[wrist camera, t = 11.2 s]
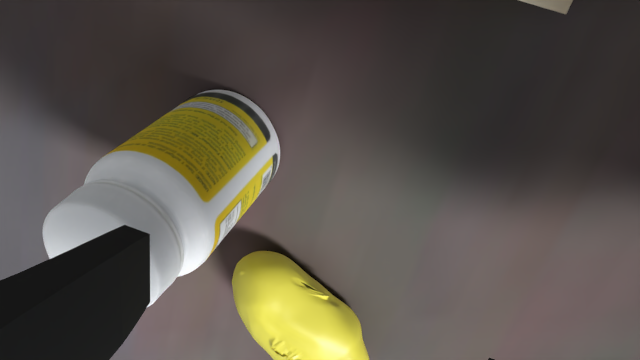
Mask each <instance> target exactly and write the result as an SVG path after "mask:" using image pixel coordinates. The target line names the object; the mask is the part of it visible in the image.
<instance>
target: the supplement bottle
mask: <svg viewBox="0 0 640 360" xmlns="http://www.w3.org/2000/svg"><path fill="white" fill-rule="evenodd" d="M279 161H280V145H279V140H278V137H277V134H276V132H275V130H274V127H273V125H272V124H271V122H270V120H269V119H268V117H267V116H266V114H265V113H264V112H263V111H262V110H261V109H260V108H259V107H258V106H257V105H256V104H255V103H253V102H252V101H251V100H249V99H248V98H246V97H244V96H242V95H240V94H238V93H235V92H232V91H227V90H208V91H204V92H201V93H199V94H197V95H194V96H192V97H190V98H189V99H187V100H186V101H184V102H183V103H182V104H180V105H179V106H177V107H176V108H175V109H173V110H172V111H170V112H169V113H167V114H165V115H164V116H162V117H161V118H160V119H158V120H157V121H155V122H154V123H152V124H151V125H149V126H148V127H146V128H145V129H143V130H142V131H141V132H139V133H138V134H136V135H135V136H133V137H132V138H130V139H129V140H127V141H126V142H124V143H123V144H121V145H120V146H118V147H117V148H115V149H114V150H112V151H111V152H109V153H108V154H106V155H105V156H103V157H102V158H101V159H100V160H99V161H97V162H96V163H95V164H94V166H93V167H92V168H91V169H90V171H89V173H88V175H87V177H86V179H85V183H84V185H83V186H82V187H80V188H78V189H76V190H75V191H74V192H73V193H72V194H71V195H69V196H68V197H67V198H65V199H64V200H63V201H62V202H60V203H59V204H58V205H57V206H55V207H54V208H53V209H52V210H51V211H50V212H49V213H48V215H47V217H46V219H45V221H44V225H43V240H44V245H45V248H46V251H47V253H48V256H49V258H50V259H51V258H53V257H56V256H58V255H60V254H62V253H64V252H66V251H69V250H71V249H73V248H75V247H77V246H79V245H81V244H84V243H86V242H88V241H90V240H92V239H94V238H96V237H98V236H101V235H103V234H105V233H107V232H109V231H112V230H114V229H116V228H118V227H121V226H123V225H127V226H129V227H132V228H135V229H138V230H140V231H143V232H146V233H149V234H150V303H149V305H148V306H147V307H149V306H150V305H152V304H153V303H154V302H155V301H156V300H157V299H158V298H159V297H160V295H161V294H162V293H163V292H164V291H165V290H166V289H167V288H168V287H169V286H170V285H171V284H172V283H173V282H174V281H175V279H176V277H178V276H183V275H185V274H188V273H190V272H192V271H194V270H195V269H196V268H198V267H199V266H200V265H201V264H202V263H203V262H205V261H206V260H207V258H208V257H209V256H210V255H211V253H212V252H213V251H214V250H215V248H216V247H217V246H218V245H219V243H220V242H221V241H222V240H223V239H224V237H225V236H226V235H227V234H228V232H229V231H230V230H231V229H232V228H233V226H234V225H235V224H236V223H237V221H238V220H239V219H240V218H241V217H242V215H243V214H244V213H245V212H246V211H247V209H248V208H249V207H250V206H251V204H252V203H253V202H254V201H255V200H256V198H257V197H258V196H259V195H260V193H261V192H262V191H263V190H264V188H265V187H266V186H267V185H268V184H269V182H270V181H271V180H272V178H273V177H274V175H275V173H276V171H277V169H278V166H279Z"/></svg>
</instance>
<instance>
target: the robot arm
mask: <svg viewBox="0 0 640 360" xmlns="http://www.w3.org/2000/svg"><path fill="white" fill-rule="evenodd" d="M149 303H150V234H149V233H146V232H143V231H140V230H138V229H135V228H132V227H129V226H127V225H123V226H121V227H118V228H116V229H114V230H112V231H109V232H107V233H105V234H103V235H101V236H98V237H96V238H94V239H92V240H90V241H88V242H86V243H84V244H81V245H79V246H77V247H75V248H73V249H71V250H69V251H66V252H64V253H62V254H60V255H58V256H56V257H53V258H51V259H49V260H47V261H44V262H42V263H40V264H38V265H36V266H33V267H31V268H29V269H27V270H25V271H22V272H20V273H18V274H15V275H13V276H10V277H8V278H6V279H3V280H1V281H0V360H109V359H110V358H111V357H112V356H113V354H114V353H115V352H116V351H117V350H118V348H119V347H120V346H121V345H122V344H123V342H124V341H125V339H126V338H127V337H128V335H129V334H130V332H131V331H132V329H133V328H134V326H135V325H136V323H137V322H138V320H139V319H140V317H141V316H142V314H143V313H144V311H145V309H146V308H147V306H148V305H149ZM488 360H494V359H491V358H489V359H488Z"/></svg>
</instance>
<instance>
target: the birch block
mask: <svg viewBox="0 0 640 360" xmlns="http://www.w3.org/2000/svg"><path fill="white" fill-rule="evenodd" d="M519 1H522V2H526V3H529V4H532V5H536V6H539V7H543V8H546V9H549V10H553V11H556V12H559V13H563V14H567V12H568V9H569V7H570V5H571V3H572V1H573V0H519Z"/></svg>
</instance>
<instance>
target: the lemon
mask: <svg viewBox="0 0 640 360" xmlns="http://www.w3.org/2000/svg"><path fill="white" fill-rule="evenodd" d="M232 285H233V295H234V300H235V304H236V308H237V310H238V313H239V315H240V317H241V319H242V321H243V322H244V324H245V326H246V328H247V329H248V331H249V332H250V334H251V335H252V337H253V338H254V339H255V341H256V342H257V343H258V344H259V345H260V346H261V347H262V348H264V349H265V350H266V352H267V353H268V354H269V355H270V356H271V357H272V358H273V359H274V360H369V357H368V353H367V350H366V347H365V345H364V342H363V338H362V330H361V325H360V322H359V320H358V318H357V316H356V315H355V313H354V312H353V311H352V309H351V308H350V307H348V306H347V305H346V304H345V303H343V302H342V301H341V300H339V299H338V298H336V297H335V296H333V295H332V294H331V293H330V292H329V291H328V290H327V289H325V288H324V287H323V286H322V285H321V284H320V283H319V282H317V281H316V280H315V279H313V278H312V277H311V276H309V275H308V274H307V273H306V272H305V271H304V270H302V269H301V268H300V267H299V266H298V265H297V264H296V263H295V262H293V261H292V260H291V259H289V258H288V257H286V256H284V255H282V254H279V253H276V252H272V251H255V252H252V253H250V254H248V255H247V256H244V257H243V258H242V259H241V260H240V261H239V262H238V263H237V264H236V268H235V270H234V273H233V279H232Z"/></svg>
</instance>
